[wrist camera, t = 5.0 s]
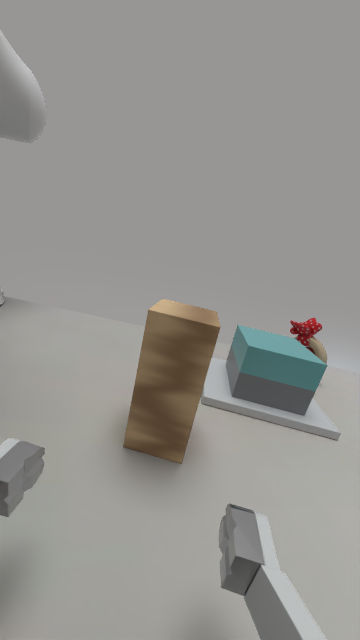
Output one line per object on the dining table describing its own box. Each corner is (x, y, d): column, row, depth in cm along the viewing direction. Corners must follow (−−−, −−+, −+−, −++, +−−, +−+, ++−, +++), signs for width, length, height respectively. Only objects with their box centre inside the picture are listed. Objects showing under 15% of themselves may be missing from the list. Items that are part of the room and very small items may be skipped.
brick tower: (201, 403, 25) (219, 342, 23) (203, 360, 37) (215, 317, 35) (337, 440, 24) (368, 380, 22) (295, 384, 36) (313, 341, 34)
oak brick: (123, 446, 18) (148, 309, 14) (141, 408, 23) (163, 298, 19) (181, 463, 17) (220, 327, 14) (186, 420, 22) (216, 311, 19)
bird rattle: (309, 384, 42) (279, 349, 48) (357, 348, 36) (316, 312, 41) (291, 388, 39) (261, 350, 45) (340, 349, 32) (298, 310, 38)
